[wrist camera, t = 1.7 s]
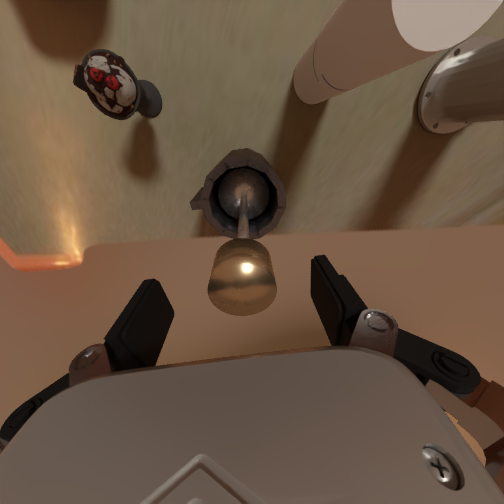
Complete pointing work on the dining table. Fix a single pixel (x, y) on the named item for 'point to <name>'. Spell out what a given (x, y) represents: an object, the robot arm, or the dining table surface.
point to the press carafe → (218, 216)
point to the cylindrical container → (382, 41)
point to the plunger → (242, 249)
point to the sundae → (115, 86)
